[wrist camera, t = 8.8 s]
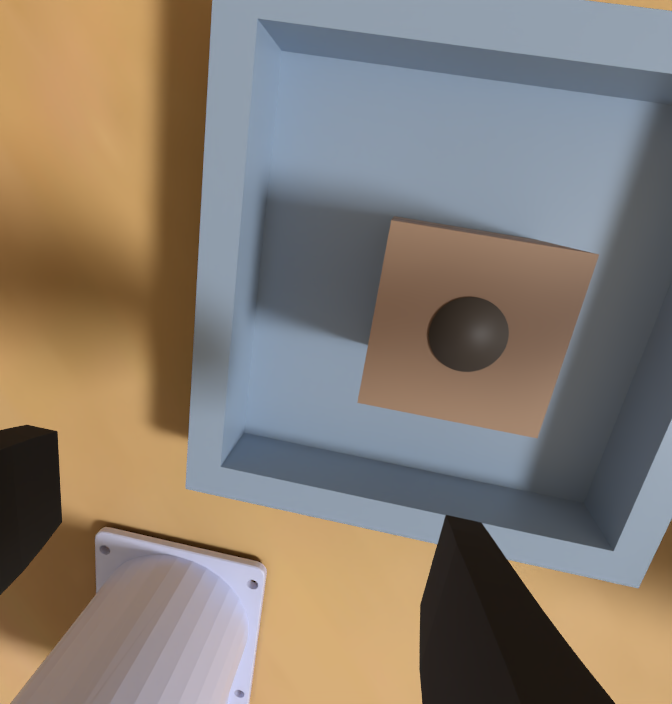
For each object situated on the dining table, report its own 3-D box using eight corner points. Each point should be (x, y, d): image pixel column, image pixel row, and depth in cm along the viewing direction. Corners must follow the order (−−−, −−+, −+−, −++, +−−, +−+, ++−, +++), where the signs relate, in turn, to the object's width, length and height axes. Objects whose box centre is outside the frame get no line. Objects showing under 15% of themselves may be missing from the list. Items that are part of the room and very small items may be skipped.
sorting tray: (600, 527, 18) (638, 588, 15) (217, 446, 19) (185, 488, 16) (788, 76, 13) (900, 38, 10) (252, 6, 14) (214, -46, 11)
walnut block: (496, 369, 16) (537, 439, 11) (369, 345, 16) (357, 403, 11) (534, 239, 14) (600, 255, 10) (393, 216, 15) (391, 220, 10)
